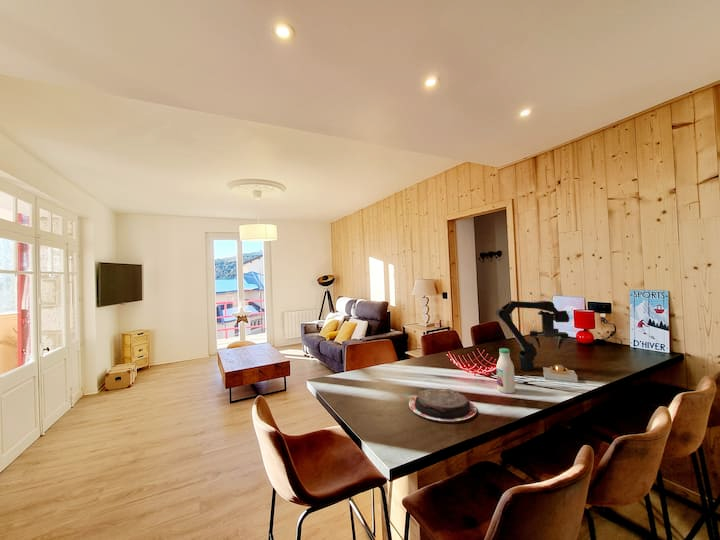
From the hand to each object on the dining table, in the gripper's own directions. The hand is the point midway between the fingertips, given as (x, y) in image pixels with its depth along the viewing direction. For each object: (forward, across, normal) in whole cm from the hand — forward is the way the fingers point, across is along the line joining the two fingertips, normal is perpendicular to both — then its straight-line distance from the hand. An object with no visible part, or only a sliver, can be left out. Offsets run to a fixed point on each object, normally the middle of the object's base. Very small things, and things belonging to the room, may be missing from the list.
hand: (549, 349), depth 168 cm
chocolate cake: (+13, -46, -75) cm, 89 cm away
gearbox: (+12, +3, -14) cm, 19 cm away
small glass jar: (+11, +3, -14) cm, 18 cm away
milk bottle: (+12, -22, -44) cm, 51 cm away
